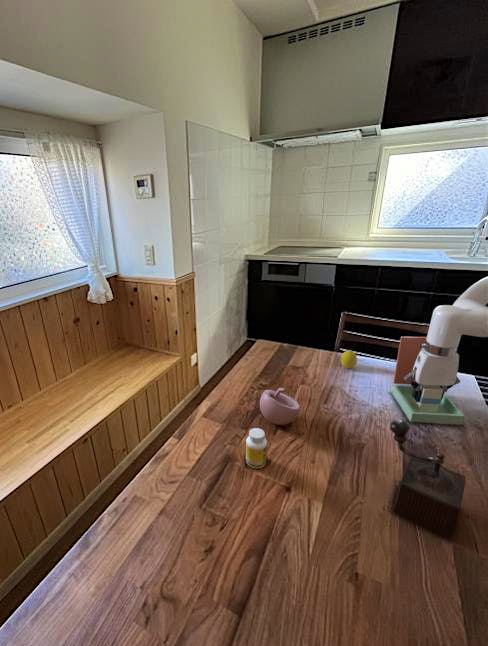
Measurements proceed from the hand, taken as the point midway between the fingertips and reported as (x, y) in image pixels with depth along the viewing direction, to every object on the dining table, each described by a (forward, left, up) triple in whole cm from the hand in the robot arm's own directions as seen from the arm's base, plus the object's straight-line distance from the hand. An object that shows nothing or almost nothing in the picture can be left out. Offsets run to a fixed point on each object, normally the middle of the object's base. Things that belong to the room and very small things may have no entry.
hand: (426, 399), depth 104 cm
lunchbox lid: (0, -8, +9) cm, 12 cm away
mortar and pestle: (+45, +10, -4) cm, 46 cm away
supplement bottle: (+52, +28, -4) cm, 59 cm away
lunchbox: (0, 0, -4) cm, 4 cm away
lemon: (+17, -24, -4) cm, 30 cm away
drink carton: (0, 0, -3) cm, 3 cm away
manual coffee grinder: (+17, +37, -4) cm, 41 cm away
